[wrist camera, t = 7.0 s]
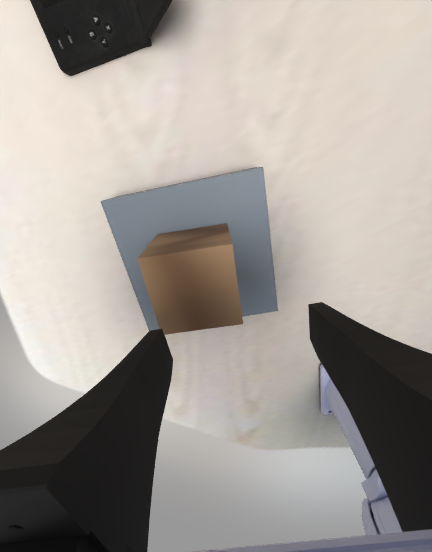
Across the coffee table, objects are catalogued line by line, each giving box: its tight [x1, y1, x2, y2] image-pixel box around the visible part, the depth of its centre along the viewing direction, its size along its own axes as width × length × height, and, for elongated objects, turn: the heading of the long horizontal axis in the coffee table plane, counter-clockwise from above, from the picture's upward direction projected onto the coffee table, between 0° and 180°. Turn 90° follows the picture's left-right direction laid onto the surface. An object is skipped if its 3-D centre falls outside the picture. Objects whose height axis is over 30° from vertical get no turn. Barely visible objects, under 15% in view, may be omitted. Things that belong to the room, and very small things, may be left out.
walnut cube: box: [137, 223, 243, 334], centre depth 16 cm, size 5×5×5 cm
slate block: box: [101, 167, 278, 331], centre depth 20 cm, size 11×11×4 cm
